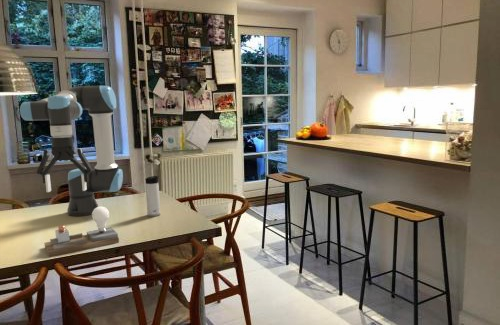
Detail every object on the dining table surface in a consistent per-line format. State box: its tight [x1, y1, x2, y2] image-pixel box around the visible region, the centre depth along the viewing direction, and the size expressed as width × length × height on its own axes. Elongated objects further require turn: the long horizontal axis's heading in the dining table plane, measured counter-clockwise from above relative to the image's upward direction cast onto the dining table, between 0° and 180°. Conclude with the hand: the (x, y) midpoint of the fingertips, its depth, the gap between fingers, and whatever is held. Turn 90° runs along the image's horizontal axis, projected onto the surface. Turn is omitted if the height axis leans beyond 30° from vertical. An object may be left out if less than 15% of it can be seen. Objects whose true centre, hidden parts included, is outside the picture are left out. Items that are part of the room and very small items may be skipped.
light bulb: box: [91, 205, 110, 232], centre depth 169 cm, size 7×7×11 cm
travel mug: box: [145, 175, 161, 218], centre depth 205 cm, size 6×7×20 cm
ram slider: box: [54, 224, 70, 244], centre depth 161 cm, size 6×4×7 cm, turn 34°
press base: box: [44, 227, 120, 258], centre depth 166 cm, size 12×26×4 cm, turn 124°
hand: (66, 190), depth 160 cm, fingers open, 13 cm apart
